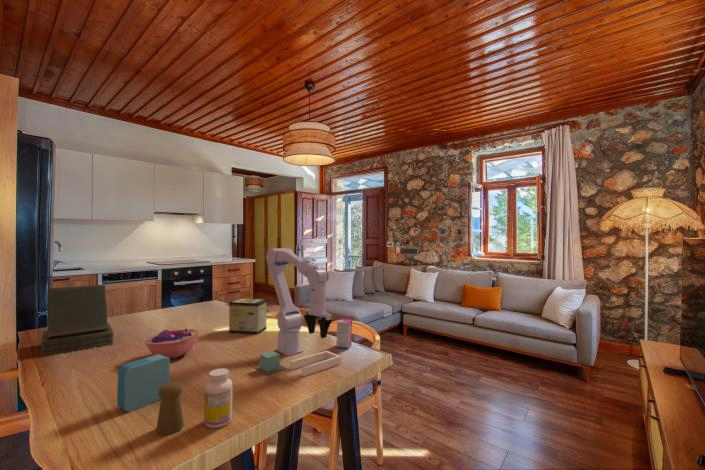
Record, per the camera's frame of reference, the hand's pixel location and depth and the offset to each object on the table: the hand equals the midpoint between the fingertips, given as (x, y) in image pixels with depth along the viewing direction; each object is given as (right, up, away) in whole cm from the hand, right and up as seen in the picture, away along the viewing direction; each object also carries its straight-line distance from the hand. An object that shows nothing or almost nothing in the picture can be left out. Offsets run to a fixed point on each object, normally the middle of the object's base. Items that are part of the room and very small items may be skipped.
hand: (317, 335), depth 127 cm
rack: (0, -10, -6) cm, 11 cm away
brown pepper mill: (-32, -9, -45) cm, 56 cm away
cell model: (-58, -10, +4) cm, 59 cm away
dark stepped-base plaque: (-106, -10, +17) cm, 108 cm away
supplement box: (+10, -10, +17) cm, 22 cm away
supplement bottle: (-21, -10, -42) cm, 48 cm away
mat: (-16, -10, -8) cm, 20 cm away
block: (-16, -9, -8) cm, 21 cm away
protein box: (-39, -10, +40) cm, 57 cm away
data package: (-46, -9, -33) cm, 57 cm away
